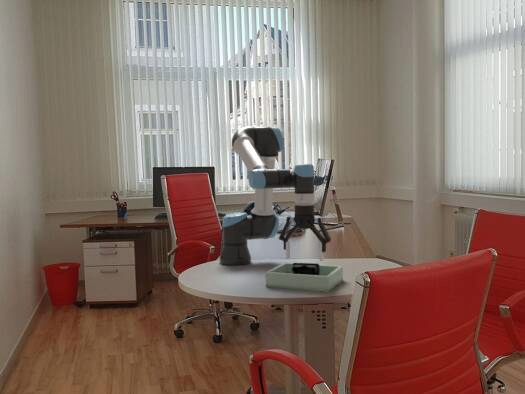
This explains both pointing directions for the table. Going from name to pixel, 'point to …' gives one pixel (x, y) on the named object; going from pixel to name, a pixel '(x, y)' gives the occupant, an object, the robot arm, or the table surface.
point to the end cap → (306, 268)
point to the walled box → (304, 278)
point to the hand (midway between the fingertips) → (304, 259)
